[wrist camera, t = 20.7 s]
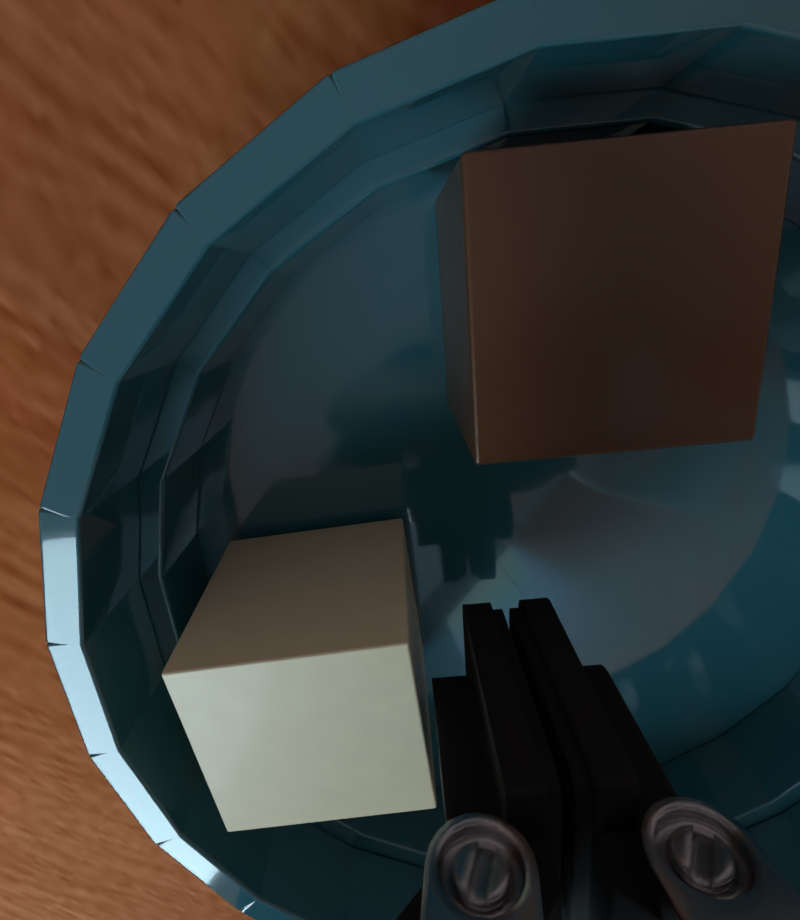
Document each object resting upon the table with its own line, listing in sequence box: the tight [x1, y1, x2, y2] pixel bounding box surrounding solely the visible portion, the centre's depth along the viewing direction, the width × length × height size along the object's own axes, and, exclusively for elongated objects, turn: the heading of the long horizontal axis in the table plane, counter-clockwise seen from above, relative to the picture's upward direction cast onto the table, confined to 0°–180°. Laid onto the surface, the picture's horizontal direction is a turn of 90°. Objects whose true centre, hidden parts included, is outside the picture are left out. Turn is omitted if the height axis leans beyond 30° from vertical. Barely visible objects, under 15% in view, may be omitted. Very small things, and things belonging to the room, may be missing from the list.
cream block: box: [162, 518, 437, 832], centre depth 11 cm, size 4×4×4 cm
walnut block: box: [435, 119, 797, 465], centre depth 9 cm, size 4×4×4 cm
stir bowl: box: [39, 0, 800, 920], centre depth 11 cm, size 18×18×4 cm
